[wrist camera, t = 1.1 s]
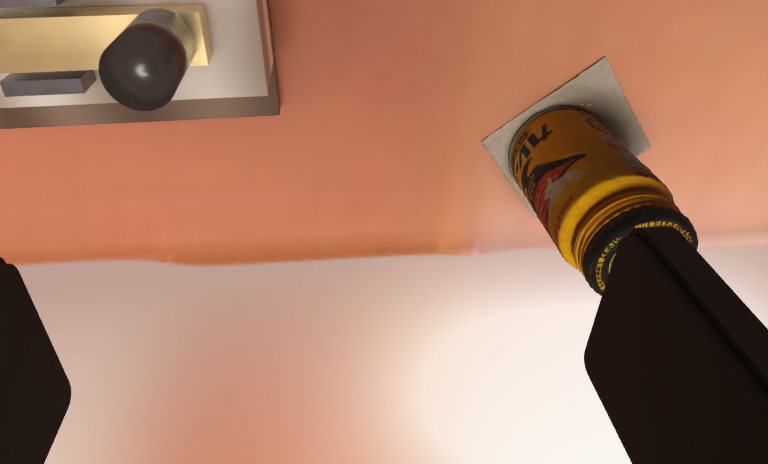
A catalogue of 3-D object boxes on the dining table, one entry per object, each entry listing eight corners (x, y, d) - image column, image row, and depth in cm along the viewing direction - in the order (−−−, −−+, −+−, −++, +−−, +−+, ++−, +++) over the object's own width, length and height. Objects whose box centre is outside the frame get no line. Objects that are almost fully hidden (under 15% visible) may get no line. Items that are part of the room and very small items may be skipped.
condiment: (480, 140, 35) (549, 257, 25) (604, 55, 33) (732, 146, 23) (534, 216, 39) (611, 343, 29) (648, 144, 36) (775, 255, 27)
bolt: (203, -3, 22) (178, 36, 18) (214, 58, 24) (192, 109, 19) (-11, 4, 22) (-94, 46, 17) (13, 66, 23) (-59, 121, 18)
